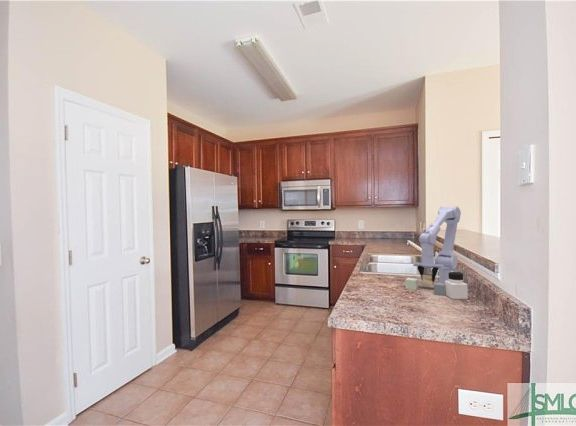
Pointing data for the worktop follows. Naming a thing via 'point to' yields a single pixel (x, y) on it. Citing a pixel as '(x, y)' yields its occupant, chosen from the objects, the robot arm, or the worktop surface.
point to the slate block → (439, 289)
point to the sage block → (411, 283)
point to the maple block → (427, 279)
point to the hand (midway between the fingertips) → (428, 280)
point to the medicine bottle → (456, 286)
